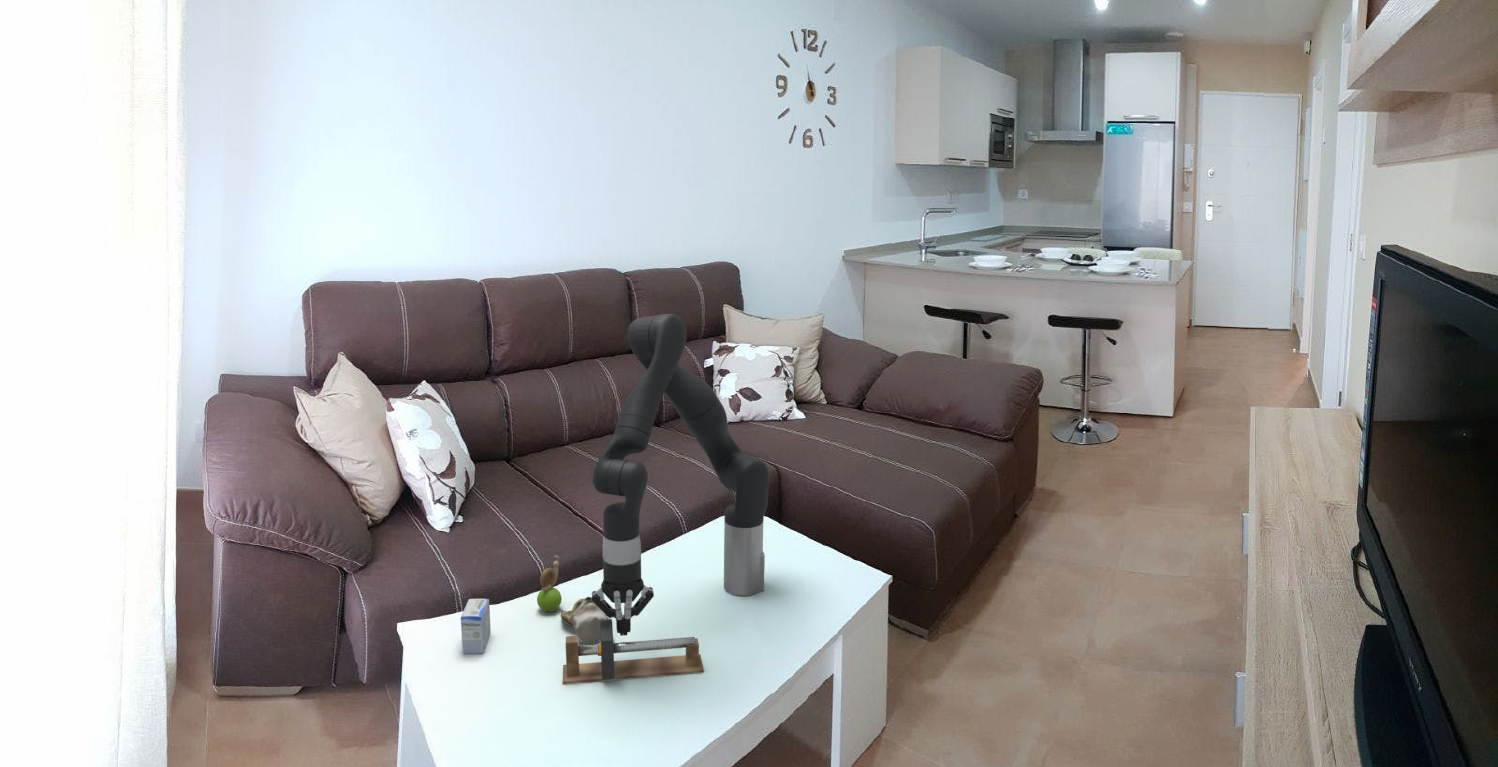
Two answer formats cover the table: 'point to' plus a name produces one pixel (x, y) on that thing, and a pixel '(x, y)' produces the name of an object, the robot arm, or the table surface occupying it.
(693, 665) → the stand
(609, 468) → the robot arm
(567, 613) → the ceramic sculpture
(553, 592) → the snail figurine
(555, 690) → the table surface
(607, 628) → the dark grey frame
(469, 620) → the medicine box
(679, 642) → the pipe
